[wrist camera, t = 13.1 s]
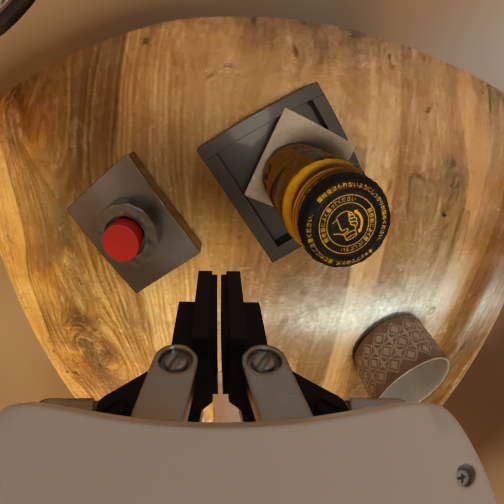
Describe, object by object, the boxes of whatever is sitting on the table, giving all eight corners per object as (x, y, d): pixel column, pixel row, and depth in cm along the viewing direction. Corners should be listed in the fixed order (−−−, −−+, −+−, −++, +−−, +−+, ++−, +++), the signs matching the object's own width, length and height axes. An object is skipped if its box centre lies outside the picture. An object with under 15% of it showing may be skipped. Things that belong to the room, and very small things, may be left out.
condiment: (244, 194, 25) (261, 259, 14) (284, 107, 22) (339, 101, 11) (314, 223, 27) (369, 297, 16) (354, 145, 24) (440, 174, 13)
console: (75, 203, 26) (58, 215, 23) (134, 151, 25) (120, 156, 21) (140, 282, 31) (132, 303, 28) (202, 243, 30) (199, 261, 26)
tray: (199, 146, 25) (196, 150, 23) (306, 85, 24) (317, 81, 21) (268, 248, 31) (272, 262, 28) (361, 193, 29) (375, 202, 26)
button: (101, 231, 24) (94, 239, 23) (127, 210, 24) (121, 217, 22) (124, 259, 26) (119, 268, 24) (150, 240, 25) (146, 248, 24)
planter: (348, 330, 38) (375, 385, 29) (420, 299, 37) (457, 343, 28) (353, 377, 44) (373, 424, 35) (415, 350, 43) (441, 390, 34)
